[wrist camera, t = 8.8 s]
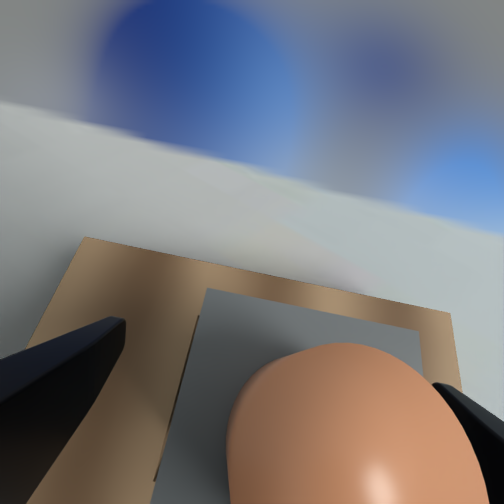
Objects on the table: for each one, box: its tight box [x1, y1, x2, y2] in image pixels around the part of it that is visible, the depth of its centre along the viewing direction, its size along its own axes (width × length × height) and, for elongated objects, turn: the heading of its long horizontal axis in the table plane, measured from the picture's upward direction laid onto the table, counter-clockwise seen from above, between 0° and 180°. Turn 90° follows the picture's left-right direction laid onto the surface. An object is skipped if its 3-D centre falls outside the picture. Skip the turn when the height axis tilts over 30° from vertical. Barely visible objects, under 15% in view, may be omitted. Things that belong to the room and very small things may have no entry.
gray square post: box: [150, 288, 489, 504], centre depth 8 cm, size 4×4×13 cm
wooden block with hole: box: [25, 237, 462, 504], centre depth 13 cm, size 20×12×4 cm, turn 80°
